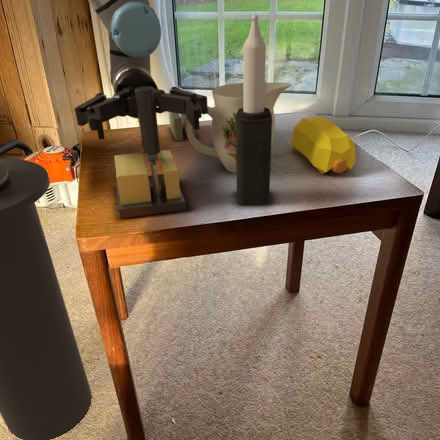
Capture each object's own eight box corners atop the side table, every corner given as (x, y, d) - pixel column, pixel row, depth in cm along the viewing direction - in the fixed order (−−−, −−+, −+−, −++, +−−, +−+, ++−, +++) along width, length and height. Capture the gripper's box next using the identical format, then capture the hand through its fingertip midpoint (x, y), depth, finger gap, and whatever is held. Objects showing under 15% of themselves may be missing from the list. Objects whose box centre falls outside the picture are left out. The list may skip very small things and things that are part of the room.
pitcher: (189, 158, 87) (183, 81, 79) (281, 154, 87) (285, 77, 79) (188, 180, 78) (182, 96, 70) (291, 175, 79) (297, 91, 70)
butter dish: (116, 187, 77) (110, 152, 73) (174, 180, 78) (171, 146, 75) (120, 218, 67) (113, 180, 64) (186, 210, 69) (183, 172, 65)
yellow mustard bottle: (321, 143, 92) (285, 147, 91) (324, 108, 88) (287, 112, 87) (361, 176, 78) (319, 181, 76) (368, 136, 74) (324, 141, 72)
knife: (146, 182, 74) (133, 84, 65) (162, 180, 75) (151, 83, 66) (150, 197, 70) (136, 94, 61) (166, 195, 70) (155, 92, 61)
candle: (269, 205, 70) (276, 15, 55) (236, 205, 70) (234, 17, 55) (267, 191, 74) (274, 11, 59) (236, 192, 74) (234, 13, 59)
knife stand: (170, 128, 103) (168, 107, 100) (188, 126, 104) (186, 106, 101) (176, 140, 96) (174, 118, 93) (195, 138, 97) (194, 116, 94)
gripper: (205, 107, 84) (234, 142, 68) (68, 120, 80) (64, 160, 63) (203, 62, 80) (234, 88, 63) (58, 73, 76) (50, 104, 59)
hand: (149, 124), depth 63 cm, fingers open, 13 cm apart
